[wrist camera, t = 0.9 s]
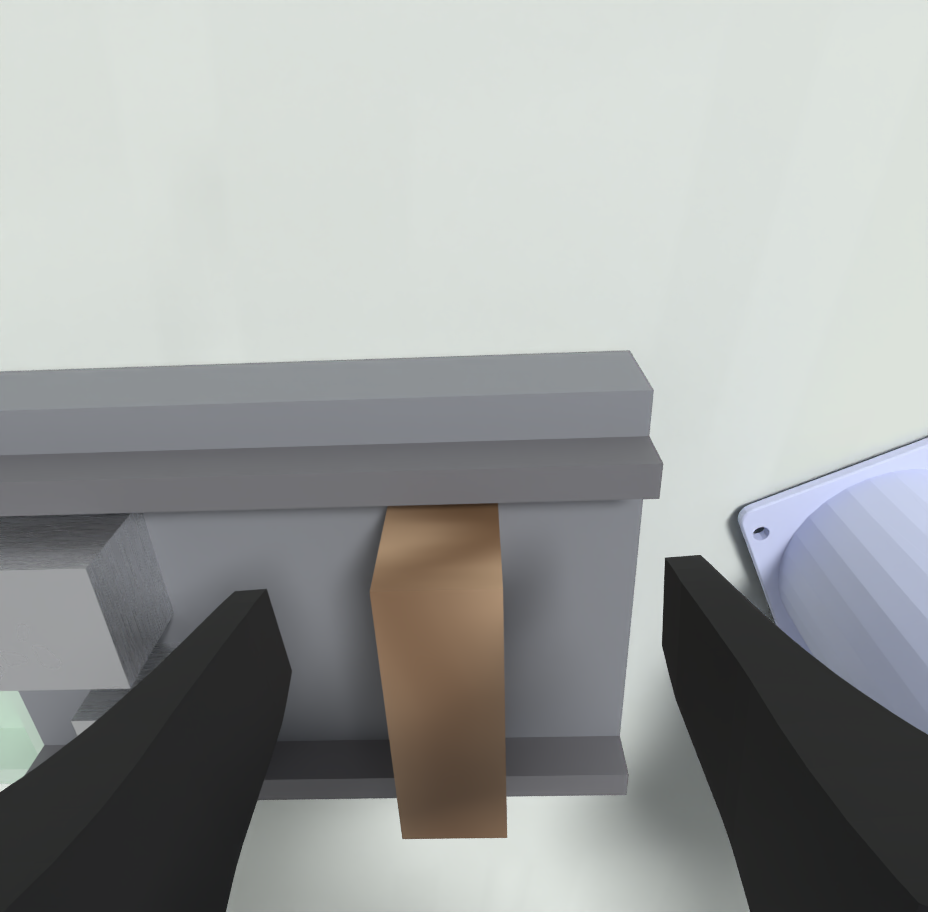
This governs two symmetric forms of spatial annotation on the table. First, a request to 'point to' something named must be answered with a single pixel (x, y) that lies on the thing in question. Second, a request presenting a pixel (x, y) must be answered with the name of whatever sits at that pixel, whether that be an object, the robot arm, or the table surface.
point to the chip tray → (16, 738)
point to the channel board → (365, 529)
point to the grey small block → (78, 601)
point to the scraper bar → (443, 667)
